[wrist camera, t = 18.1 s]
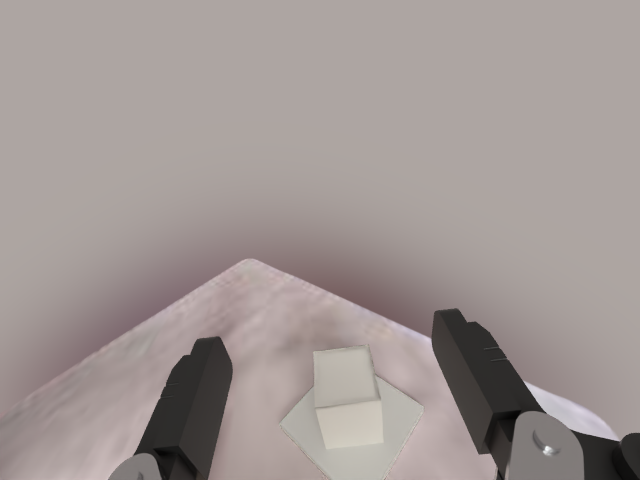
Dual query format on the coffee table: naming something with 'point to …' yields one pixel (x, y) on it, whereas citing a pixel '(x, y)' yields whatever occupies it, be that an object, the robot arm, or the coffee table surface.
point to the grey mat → (364, 460)
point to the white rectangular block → (347, 397)
